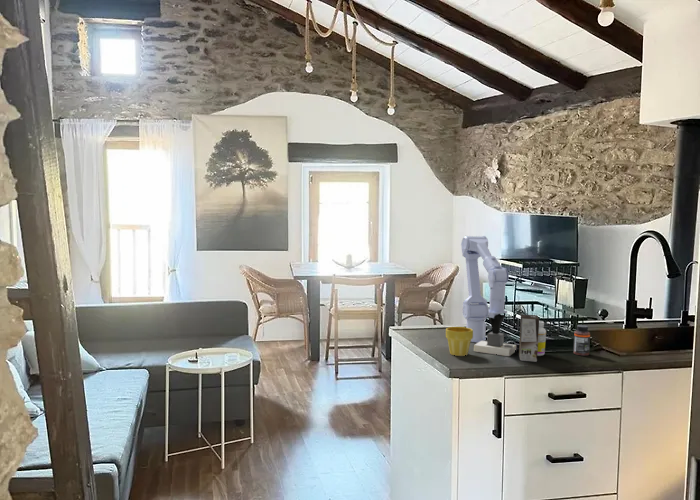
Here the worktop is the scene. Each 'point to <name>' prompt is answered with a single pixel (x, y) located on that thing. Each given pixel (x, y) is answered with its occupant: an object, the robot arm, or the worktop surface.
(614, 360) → the worktop surface
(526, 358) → the coffee box
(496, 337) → the plug
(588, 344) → the supplement bottle
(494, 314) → the robot arm
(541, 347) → the supplement bottle
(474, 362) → the worktop surface
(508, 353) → the socket
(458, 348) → the plant pot
